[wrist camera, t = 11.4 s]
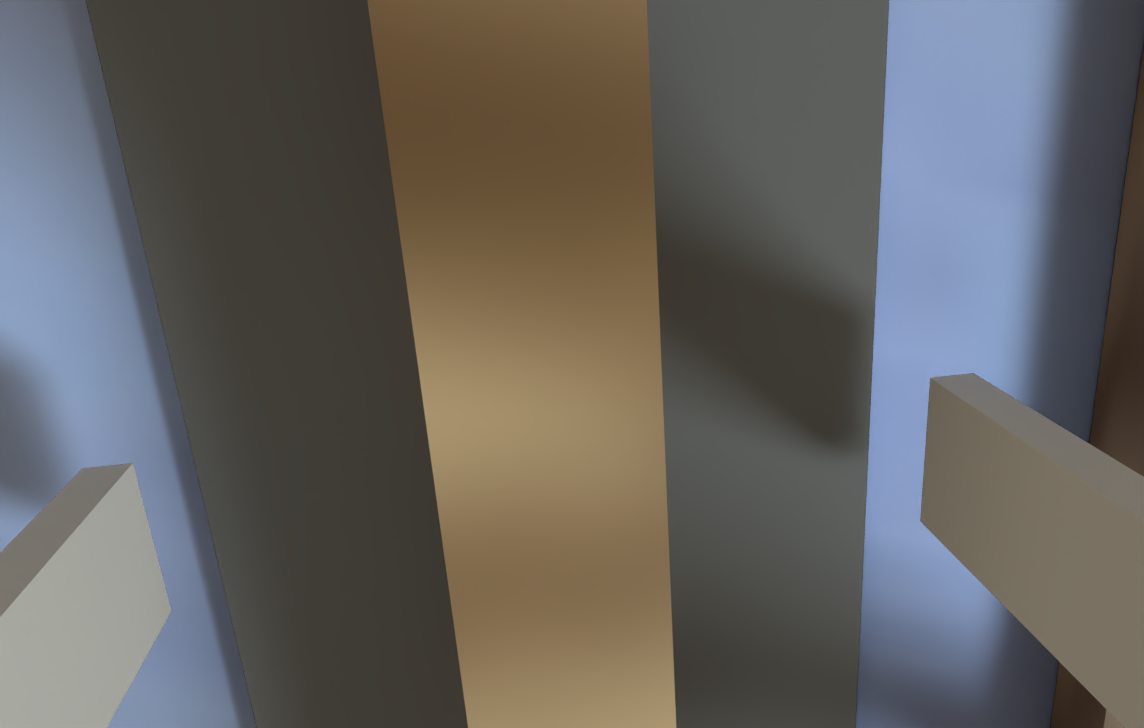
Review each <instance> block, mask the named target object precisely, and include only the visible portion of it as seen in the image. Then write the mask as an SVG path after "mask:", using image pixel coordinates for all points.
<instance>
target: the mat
mask: <svg viewBox="0 0 1144 728" xmlns="http://www.w3.org/2000/svg"><path fill="white" fill-rule="evenodd" d="M86 4H87V8H88V12H89V16H90V21H91V25H92V29H93V33H94V38H95V42H96V46H97V50H98V55H99V59H100V63H101V67H102V72H103V76H104V80H105V84H106V89H107V93H108V97H109V101H110V106H111V110H112V114H113V118H114V123H115V127H116V131H117V136H118V140H119V144H120V148H121V153H122V157H123V161H124V165H125V170H126V174H127V178H128V182H129V187H130V191H131V195H132V199H133V204H134V208H135V212H136V216H137V221H138V225H139V229H140V233H141V238H142V242H143V246H144V250H145V255H146V259H147V263H148V267H149V272H150V276H151V280H152V284H153V289H154V293H155V297H156V301H157V306H158V310H159V314H160V318H161V323H162V327H163V331H164V335H165V340H166V344H167V348H168V352H169V357H170V361H171V365H172V369H173V374H174V378H175V382H176V386H177V391H178V395H179V399H180V404H181V408H182V412H183V416H184V421H185V425H186V429H187V433H188V438H189V442H190V446H191V450H192V455H193V459H194V463H195V467H196V472H197V476H198V480H199V484H200V489H201V493H202V497H203V501H204V506H205V510H206V514H207V518H208V523H209V527H210V531H211V535H212V540H213V544H214V548H215V552H216V557H217V561H218V565H219V569H220V574H221V578H222V582H223V586H224V591H225V595H226V599H227V603H228V608H229V612H230V616H231V620H232V625H233V629H234V633H235V637H236V642H237V646H238V650H239V654H240V659H241V663H242V667H243V672H244V676H245V680H246V684H247V689H248V693H249V697H250V701H251V706H252V710H253V714H254V718H255V723H256V727H257V728H468V723H467V716H466V709H465V701H464V694H463V687H462V680H461V672H460V665H459V658H458V651H457V644H456V636H455V629H454V622H453V615H452V608H451V600H450V593H449V586H448V579H447V571H446V564H445V557H444V550H443V543H442V535H441V528H440V521H439V514H438V507H437V499H436V492H435V485H434V478H433V471H432V463H431V456H430V449H429V442H428V434H427V427H426V420H425V413H424V406H423V398H422V391H421V384H420V377H419V370H418V362H417V355H416V348H415V341H414V333H413V326H412V319H411V312H410V305H409V297H408V290H407V283H406V276H405V269H404V261H403V254H402V247H401V240H400V232H399V225H398V218H397V211H396V204H395V196H394V189H393V182H392V175H391V168H390V160H389V153H388V146H387V139H386V132H385V124H384V117H383V110H382V103H381V95H380V88H379V81H378V74H377V67H376V59H375V52H374V45H373V38H372V31H371V23H370V16H369V9H368V2H367V0H86ZM888 13H889V0H647V23H648V48H649V72H650V96H651V121H652V145H653V170H654V194H655V219H656V243H657V267H658V292H659V316H660V341H661V365H662V390H663V414H664V439H665V463H666V487H667V512H668V536H669V561H670V585H671V610H672V634H673V659H674V683H675V707H676V728H856V710H857V689H858V667H859V645H860V623H861V601H862V580H863V558H864V536H865V514H866V492H867V471H868V449H869V427H870V405H871V383H872V362H873V340H874V318H875V296H876V274H877V253H878V231H879V209H880V187H881V165H882V144H883V122H884V100H885V78H886V56H887V35H888Z"/></svg>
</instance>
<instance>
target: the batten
mask: <svg viewBox="0 0 1144 728" xmlns="http://www.w3.org/2000/svg"><path fill="white" fill-rule="evenodd" d="M367 2H368V9H369V16H370V23H371V31H372V38H373V45H374V52H375V59H376V67H377V74H378V81H379V88H380V95H381V103H382V110H383V117H384V124H385V132H386V139H387V146H388V153H389V160H390V168H391V175H392V182H393V189H394V196H395V204H396V211H397V218H398V225H399V232H400V240H401V247H402V254H403V261H404V269H405V276H406V283H407V290H408V297H409V305H410V312H411V319H412V326H413V333H414V341H415V348H416V355H417V362H418V370H419V377H420V384H421V391H422V398H423V406H424V413H425V420H426V427H427V434H428V442H429V449H430V456H431V463H432V471H433V478H434V485H435V492H436V499H437V507H438V514H439V521H440V528H441V535H442V543H443V550H444V557H445V564H446V571H447V579H448V586H449V593H450V600H451V608H452V615H453V622H454V629H455V636H456V644H457V651H458V658H459V665H460V672H461V680H462V687H463V694H464V701H465V709H466V716H467V723H468V728H676V707H675V683H674V659H673V634H672V610H671V585H670V561H669V536H668V512H667V487H666V463H665V439H664V414H663V390H662V365H661V341H660V316H659V292H658V267H657V243H656V219H655V194H654V170H653V145H652V121H651V96H650V72H649V48H648V23H647V0H367Z"/></svg>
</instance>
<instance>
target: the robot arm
mask: <svg viewBox="0 0 1144 728" xmlns="http://www.w3.org/2000/svg"><path fill="white" fill-rule="evenodd" d="M920 521H921V522H922V523H923V524H924V525H925V526H926V527H927V528H928V529H929V530H930V531H931V532H932V533H933V534H934V535H935V536H936V537H937V538H938V540H939V541H940V542H941V543H942V544H943V545H944V546H945V547H946V548H947V549H948V550H949V551H950V552H951V553H952V554H953V555H954V556H955V557H956V558H957V559H958V560H959V561H960V562H961V563H962V564H963V565H964V566H965V567H966V568H967V569H968V570H969V571H970V572H971V573H972V574H973V575H974V576H975V577H976V578H977V579H978V580H979V581H980V582H981V583H982V584H983V585H984V586H985V587H986V588H987V589H988V590H989V591H990V592H991V593H992V594H993V595H994V596H995V597H996V598H997V599H998V600H999V601H1000V602H1001V603H1002V604H1003V605H1004V606H1005V607H1006V608H1007V609H1008V610H1009V611H1010V612H1011V613H1012V614H1013V615H1014V616H1015V617H1016V618H1017V619H1018V620H1019V621H1020V622H1021V623H1022V624H1023V625H1024V626H1025V627H1026V628H1027V629H1028V630H1029V632H1030V633H1031V634H1032V635H1033V636H1034V637H1035V638H1036V639H1037V640H1038V641H1039V642H1040V643H1041V644H1042V645H1043V646H1044V647H1045V648H1046V649H1047V650H1048V651H1049V652H1050V653H1051V654H1052V655H1053V656H1054V657H1055V658H1056V659H1057V660H1058V661H1059V662H1060V663H1061V664H1062V665H1063V666H1064V667H1065V668H1066V669H1067V670H1068V671H1069V672H1070V673H1071V674H1072V675H1073V676H1074V677H1075V678H1076V679H1077V680H1078V681H1079V682H1080V683H1081V684H1082V685H1083V686H1084V687H1085V688H1086V689H1087V690H1088V691H1089V692H1090V693H1091V694H1092V695H1093V696H1094V697H1095V698H1096V699H1097V700H1098V701H1099V702H1100V703H1101V704H1102V705H1103V706H1104V707H1105V708H1106V709H1107V710H1108V711H1109V712H1110V713H1111V714H1112V715H1113V716H1114V717H1115V718H1116V719H1117V720H1118V721H1119V722H1120V724H1121V725H1122V726H1123V727H1124V728H1144V477H1143V476H1142V475H1140V474H1138V473H1137V472H1135V471H1133V470H1132V469H1130V468H1128V467H1127V466H1125V465H1123V464H1122V463H1120V462H1118V461H1117V460H1115V459H1114V458H1112V457H1110V456H1109V455H1107V454H1105V453H1104V452H1102V451H1100V450H1099V449H1097V448H1095V447H1094V446H1092V445H1091V444H1089V443H1087V442H1086V441H1084V440H1082V439H1081V438H1079V437H1077V436H1076V435H1074V434H1072V433H1071V432H1069V431H1068V430H1066V429H1064V428H1063V427H1061V426H1059V425H1058V424H1056V423H1054V422H1053V421H1051V420H1049V419H1048V418H1046V417H1045V416H1043V415H1041V414H1040V413H1038V412H1036V411H1035V410H1033V409H1031V408H1030V407H1028V406H1026V405H1025V404H1023V403H1022V402H1020V401H1018V400H1017V399H1015V398H1013V397H1012V396H1010V395H1008V394H1007V393H1005V392H1003V391H1002V390H1000V389H999V388H997V387H995V386H994V385H992V384H990V383H989V382H987V381H985V380H984V379H982V378H980V377H979V376H977V375H976V374H974V373H970V374H961V375H951V376H942V377H933V378H930V388H929V403H928V417H927V432H926V446H925V460H924V475H923V489H922V504H921V518H920ZM170 613H171V608H170V604H169V600H168V596H167V592H166V588H165V585H164V581H163V577H162V573H161V569H160V565H159V562H158V558H157V554H156V550H155V546H154V542H153V539H152V535H151V531H150V527H149V523H148V519H147V516H146V512H145V508H144V504H143V500H142V496H141V493H140V489H139V485H138V481H137V477H136V473H135V470H134V466H133V463H129V464H120V465H111V466H101V467H92V468H83V469H82V470H81V471H80V472H79V473H78V474H77V475H76V476H75V477H74V478H73V479H72V480H71V481H70V482H69V483H68V484H67V485H66V486H65V487H64V488H63V489H62V490H61V491H60V492H59V493H58V494H57V495H56V496H55V497H54V498H53V499H52V500H51V501H50V502H49V503H48V504H47V505H46V507H45V508H44V509H43V510H42V511H41V512H40V513H39V514H38V515H37V516H36V517H35V518H34V519H33V520H32V521H31V522H30V523H29V524H28V525H27V526H26V527H25V528H24V529H23V530H22V531H21V532H20V533H19V534H18V535H17V536H16V537H15V538H14V539H13V540H12V541H11V542H10V543H9V544H8V545H7V547H6V548H5V549H4V550H3V551H2V552H1V553H0V728H107V727H108V725H109V723H110V721H111V719H112V718H113V716H114V714H115V712H116V710H117V709H118V707H119V705H120V703H121V701H122V700H123V698H124V696H125V694H126V692H127V691H128V689H129V687H130V685H131V683H132V682H133V680H134V678H135V676H136V674H137V673H138V671H139V669H140V667H141V665H142V664H143V662H144V660H145V658H146V656H147V655H148V653H149V651H150V649H151V647H152V646H153V644H154V642H155V640H156V638H157V637H158V635H159V633H160V631H161V629H162V627H163V626H164V624H165V622H166V620H167V618H168V617H169V615H170Z"/></svg>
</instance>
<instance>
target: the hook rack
mask: <svg viewBox="0 0 1144 728" xmlns="http://www.w3.org/2000/svg"><path fill="white" fill-rule="evenodd" d="M1089 444H1091V445H1092V446H1094V447H1095V448H1097V449H1099V450H1100V451H1102V452H1104V453H1105V454H1107V455H1109V456H1110V457H1112V458H1114V459H1115V460H1117V461H1118V462H1120V463H1122V464H1123V465H1125V466H1127V467H1128V468H1130V469H1132V470H1133V471H1135V472H1137V473H1138V474H1140V475H1142V476H1143V477H1144V48H1143V56H1142V63H1141V70H1140V78H1139V85H1138V92H1137V99H1136V107H1135V114H1134V121H1133V129H1132V136H1131V143H1130V150H1129V158H1128V165H1127V172H1126V180H1125V187H1124V194H1123V201H1122V209H1121V216H1120V223H1119V231H1118V238H1117V245H1116V253H1115V260H1114V267H1113V274H1112V282H1111V289H1110V296H1109V304H1108V311H1107V318H1106V325H1105V333H1104V340H1103V347H1102V355H1101V362H1100V369H1099V376H1098V384H1097V391H1096V398H1095V406H1094V413H1093V420H1092V427H1091V435H1090V442H1089ZM1050 728H1124V727H1123V726H1122V725H1121V724H1120V722H1119V721H1118V720H1117V719H1116V718H1115V717H1114V716H1113V715H1112V714H1111V713H1110V712H1109V711H1108V710H1107V709H1106V708H1105V707H1104V706H1103V705H1102V704H1101V703H1100V702H1099V701H1098V700H1097V699H1096V698H1095V697H1094V696H1093V695H1092V694H1091V693H1090V692H1089V691H1088V690H1087V689H1086V688H1085V687H1084V686H1083V685H1082V684H1081V683H1080V682H1079V681H1078V680H1077V679H1076V678H1075V677H1074V676H1073V675H1072V674H1071V673H1070V672H1069V671H1068V670H1067V669H1066V668H1065V667H1064V666H1063V665H1062V664H1061V663H1060V662H1059V668H1058V675H1057V683H1056V690H1055V697H1054V705H1053V712H1052V719H1051V726H1050Z"/></svg>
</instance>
